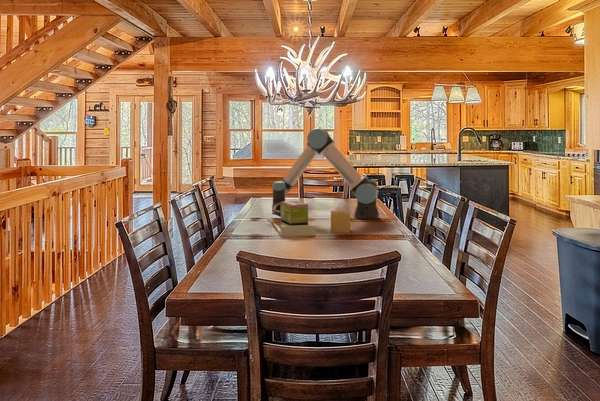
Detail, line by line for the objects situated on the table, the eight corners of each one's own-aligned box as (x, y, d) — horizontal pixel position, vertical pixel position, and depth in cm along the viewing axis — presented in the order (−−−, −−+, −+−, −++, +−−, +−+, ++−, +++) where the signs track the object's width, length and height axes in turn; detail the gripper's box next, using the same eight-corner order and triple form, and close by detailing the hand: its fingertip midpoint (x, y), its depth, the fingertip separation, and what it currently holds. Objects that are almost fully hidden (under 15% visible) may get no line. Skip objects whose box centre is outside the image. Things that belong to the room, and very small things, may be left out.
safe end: (309, 230, 270) (309, 221, 270) (315, 235, 257) (315, 225, 257) (277, 231, 267) (277, 222, 267) (281, 236, 254) (281, 226, 254)
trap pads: (293, 219, 306) (293, 219, 306) (297, 223, 294) (297, 222, 293) (271, 220, 304) (271, 219, 304) (274, 223, 291) (274, 223, 291)
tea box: (279, 228, 276) (279, 201, 274) (297, 227, 280) (297, 200, 278) (290, 233, 262) (290, 204, 261) (308, 232, 266) (308, 203, 265)
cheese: (350, 229, 274) (350, 211, 273) (350, 233, 264) (350, 213, 262) (330, 229, 275) (330, 210, 274) (329, 232, 265) (330, 213, 263)
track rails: (296, 219, 308) (296, 216, 307) (309, 230, 270) (309, 227, 270) (268, 220, 304) (268, 217, 304) (277, 231, 267) (277, 228, 267)
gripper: (292, 216, 302) (299, 222, 279) (270, 216, 300) (275, 223, 277) (292, 203, 301) (299, 208, 278) (270, 203, 299) (275, 209, 276)
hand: (287, 216), depth 277 cm, fingers closed
